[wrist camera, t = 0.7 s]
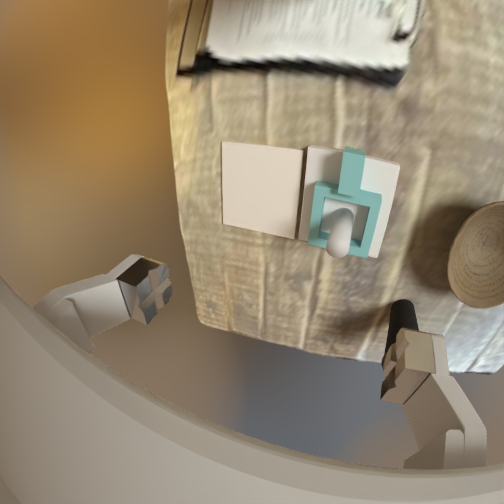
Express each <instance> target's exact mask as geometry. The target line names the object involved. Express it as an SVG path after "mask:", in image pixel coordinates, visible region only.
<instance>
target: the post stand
mask: <svg viewBox="0 0 504 504" xmlns="http://www.w3.org/2000/svg"><path fill="white" fill-rule="evenodd" d="M343 152H344V151H343V150H338V149H332V148H326V147H320V146H314V145H310V146H309V147H308V154H307V165H306V175H305V185H304V194H303V203H302V212H301V220H300V229H299V237H298V239H299V240H303V241H308V235H309V228H310V220H311V213H312V206H313V198H314V190H315V184H316V183H317V181H323V182H328V183H333V184H338V185H339V181H340V174H341V167H342V160H343ZM399 170H400V165H399V163H397V162H393V161H389V160H385V159H380V158H376V157H372V156H367V155H366V157H365V164H364V170H363V176H362V182H361V187H360V189H361V190H366V191H370V192H374V193H379V194H381V196H382V202H381V207H380V211H379V215H378V219H377V223H376V227H375V231H374V235H373V239H372V242H371V246H370V250H369V253H368V256H371V257H375V258H377V257H378V253H379V250H380V247H381V243H382V240H383V236H384V233H385V229H386V226H387V222H388V218H389V214H390V210H391V206H392V202H393V198H394V193H395V189H396V184H397V180H398V175H399ZM368 208H369V207H368V206H364V205H360V204H355V203H351V202H346V201H342V200H337V199H332V198H328V197H325V203H324V210H323V216H322V222H321V229H320V231H322V232H327V233H330V234H329V237H328V241H327V244H326V250H327V252H328V253H329V254H330V255H331V256H333V257H335V258H341V257H344V256H345V255H347V253H348V251H349V246H350V240H351V238H353V239H357V240H361V238H362V234H363V230H364V226H365V222H366V217H367V213H368Z"/></svg>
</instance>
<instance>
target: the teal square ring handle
mask: <svg viewBox="0 0 504 504" xmlns="http://www.w3.org/2000/svg"><path fill="white" fill-rule="evenodd" d="M365 157H366V151H364V150H359V149H354V148H349V147H345V149H344V152H343V160H342V167H341V174H340V181H339V185H338V184H333V183H328V182H323V181H317V183H316V184H315V190H314V198H313V206H312V213H311V220H310V228H309V235H308V241H307V244H309V245H314V246H318V247H322V248H326V244H327V241H328V237H329V234H330V233H327V232H322V231H320V229H321V222H322V216H323V210H324V203H325V197H328V198H332V199H337V200H342V201H346V202H351V203H355V204H360V205H364V206H368V207H369V208H368V213H367V217H366V222H365V226H364V230H363V234H362V238H361V240H357V239H353V238H351V240H350V246H349V251H348V254H352V255H356V256H360V257H364V258H367V257H368V253H369V250H370V246H371V242H372V239H373V235H374V231H375V227H376V223H377V219H378V215H379V211H380V207H381V202H382V196H381V194H379V193H374V192H370V191H366V190H361V189H360V187H361V182H362V176H363V170H364V164H365Z"/></svg>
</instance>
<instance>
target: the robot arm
mask: <svg viewBox="0 0 504 504" xmlns="http://www.w3.org/2000/svg"><path fill="white" fill-rule="evenodd" d="M169 274H170V273H169V267H168V265H166V264H165V263H162V262H159V261H156V260H153V259H150V258H147V257H144V256H141V255H138V254H132V255H130V256H129V257H128V258H127V259H125V260H124V261H123V262H121V263H120V264H119V265H118V266H116V267H115V268H114V269H113V270H111V271H110V272H109V273H108V274H106V275H105V274H101V275H98V276H95V277H91V278H88V279H85V280H81V281H78V282H75V283H72V284H69V285H65V286H62V287H59V288H56V289H53V290H52V291H51V292H50V293H49V294H47V295H46V296H45V297H44V298H43V299H42V300H40V301H39V302H38V303H37V304H36V305H34V306H33V307H32V306H31V305H30V304H29V303H27V301H25V300H24V299H23V298H22V297H21V296H20V295H19V294H18V293H17V292H16V291H15V290H14V289H13V288H12V287H11V286H10V285H9V284H8V283H7V282H6V280H5V279H4V278H3V277H2V276H1V275H0V504H504V463H503V464H497V465H491V466H486V428H485V426H484V425H483V423H482V421H481V419H480V418H479V416H478V415H477V413H476V411H475V410H474V408H473V406H472V405H471V403H470V402H469V400H468V399H467V397H466V395H465V394H464V392H463V391H462V389H461V388H460V386H459V385H458V384H457V382H456V380H455V379H454V377H451V376H449V367H448V359H447V351H446V344H445V338H444V336H443V335H439V334H433V333H427V332H422V331H417V330H412V329H407V328H401V329H400V330H399V332H398V334H397V336H396V343H394V344H392V345H391V346H390V348H389V350H388V352H387V355H386V358H385V361H384V366H383V373H384V375H385V376H386V378H385V380H384V381H383V383H382V386H381V396H380V400H381V401H385V402H390V403H396V404H401V405H403V408H404V411H405V414H406V416H407V419H408V421H409V424H410V426H411V429H412V431H413V434H414V437H415V439H416V442H417V445H418V447H419V450H420V451H418V452H417V453H415V454H414V455H412V456H410V457H409V458H408V459H406V460H405V461H404V466H403V468H390V467H379V466H371V465H363V464H357V463H350V462H344V461H338V460H333V459H328V458H323V457H319V456H315V455H310V454H306V453H302V452H298V451H294V450H291V449H287V448H284V447H280V446H277V445H274V444H270V443H267V442H264V441H261V440H258V439H255V438H252V437H249V436H247V435H244V434H241V433H238V432H236V431H233V430H231V429H228V428H225V427H223V426H220V425H218V424H215V423H213V422H211V421H209V420H206V419H204V418H202V417H199V416H197V415H195V414H193V413H191V412H189V411H187V410H184V409H182V408H180V407H178V406H176V405H174V404H172V403H170V402H168V401H166V400H165V399H163V398H161V397H159V396H157V395H155V394H153V393H152V392H150V391H148V390H146V389H144V388H143V387H141V386H139V385H137V384H136V383H134V382H132V381H131V380H129V379H127V378H126V377H124V376H123V375H121V374H119V373H118V372H116V371H114V370H113V369H111V368H110V367H109V366H107V365H106V364H104V363H103V362H101V361H100V360H98V359H97V358H95V357H94V356H92V355H91V352H92V351H93V350H94V344H93V343H92V341H91V339H90V338H91V337H93V336H95V335H97V334H99V333H102V332H104V331H106V330H108V329H110V328H112V327H114V326H116V325H118V324H120V323H123V322H125V321H127V320H129V319H130V318H132V319H134V320H137V321H139V322H141V323H143V324H146V325H148V324H149V323H150V322H151V320H152V319H153V318H154V317H155V316H156V315H157V314H158V308H161V307H164V306H165V305H166V304H167V303H168V302H169V300H170V298H171V295H172V283H171V282H170V280H169V279H168V275H169Z"/></svg>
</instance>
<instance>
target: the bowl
mask: <svg viewBox="0 0 504 504" xmlns="http://www.w3.org/2000/svg"><path fill="white" fill-rule="evenodd" d="M447 276H448V281H449V285H450V287H451V289H452V292H453V293H454V294H455V296H456V297H457V298H458V299H459V300H460V301H461V302H463V303H464V304H466V305H468V306H470V307H474V308H490V307H495V306H498V305H500V304H503V303H504V201H500V202H493V203H490V204H487V205H485V206H483V207H481V208H479V209H478V210H476V211H475V212H474V213H473V214H471V215H470V216H469V217H468V218H466V220H465V221H464V223H463V224H462V225H461V227H460V228H459V230H458V232H457V233H456V235H455V237H454V239H453V242H452V244H451V247H450V250H449V254H448V260H447Z"/></svg>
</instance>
